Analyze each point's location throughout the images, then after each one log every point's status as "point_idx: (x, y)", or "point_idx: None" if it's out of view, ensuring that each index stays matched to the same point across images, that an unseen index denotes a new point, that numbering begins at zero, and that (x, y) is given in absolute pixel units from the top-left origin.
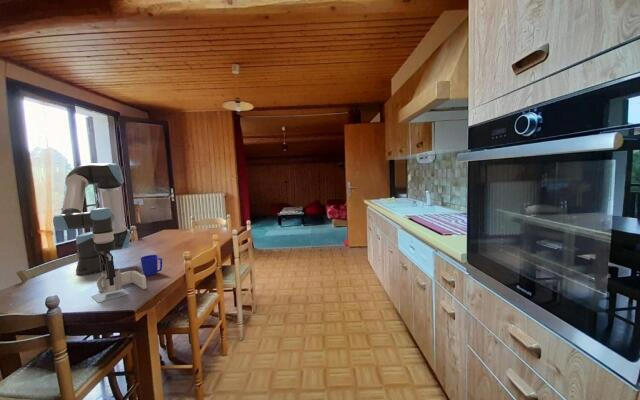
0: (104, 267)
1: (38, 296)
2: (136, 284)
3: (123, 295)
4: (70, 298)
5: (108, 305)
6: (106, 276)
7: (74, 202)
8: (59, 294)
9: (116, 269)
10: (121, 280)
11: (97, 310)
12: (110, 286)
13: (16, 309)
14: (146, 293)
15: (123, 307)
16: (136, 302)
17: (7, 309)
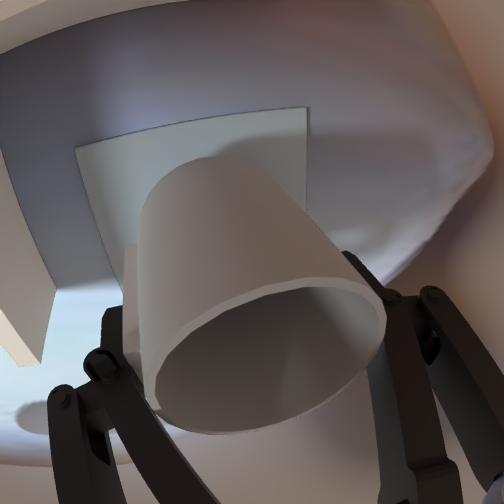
0: (193, 471)
1: (14, 437)
2: (80, 22)
3: (304, 146)
4: None
5: (381, 233)
6: (329, 362)
7: None
8: (15, 408)
9: (182, 324)
10: (253, 181)
11: (390, 270)
12: None
13: (118, 456)
14: (394, 27)
15: (456, 181)
16: (459, 123)
17: None
